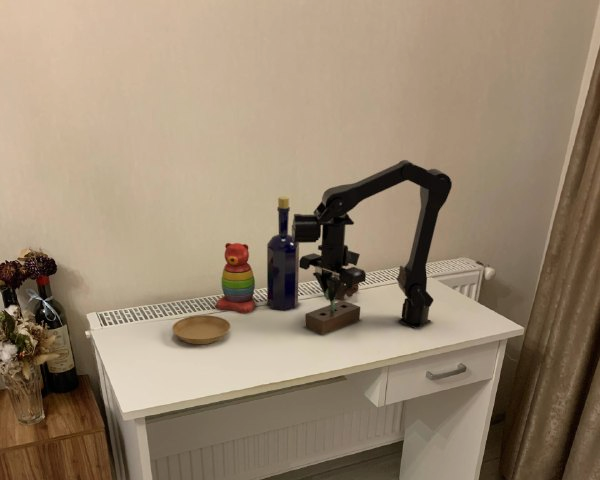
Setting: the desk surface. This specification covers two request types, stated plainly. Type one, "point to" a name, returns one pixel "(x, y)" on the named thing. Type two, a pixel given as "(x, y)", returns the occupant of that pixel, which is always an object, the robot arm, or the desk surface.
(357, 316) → the holder
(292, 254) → the bottle
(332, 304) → the spoon
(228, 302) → the stacking bear
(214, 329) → the plant saucer
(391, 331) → the desk surface
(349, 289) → the pottery mug
